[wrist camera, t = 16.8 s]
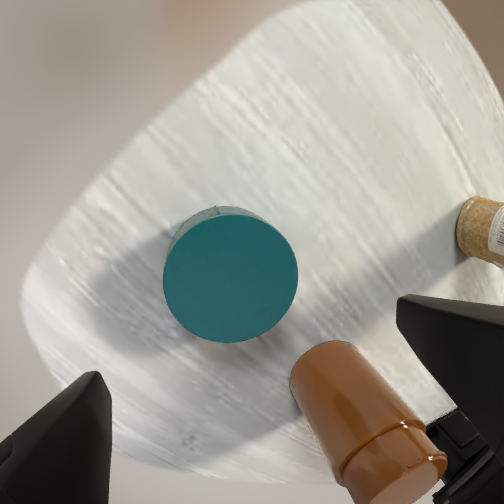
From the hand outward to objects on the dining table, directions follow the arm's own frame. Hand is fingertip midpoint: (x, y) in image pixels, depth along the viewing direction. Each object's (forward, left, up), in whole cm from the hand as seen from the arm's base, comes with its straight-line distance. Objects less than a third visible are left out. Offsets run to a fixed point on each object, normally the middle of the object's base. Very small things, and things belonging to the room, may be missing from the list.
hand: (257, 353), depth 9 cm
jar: (-9, -5, -9) cm, 14 cm away
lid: (0, 0, -9) cm, 9 cm away
